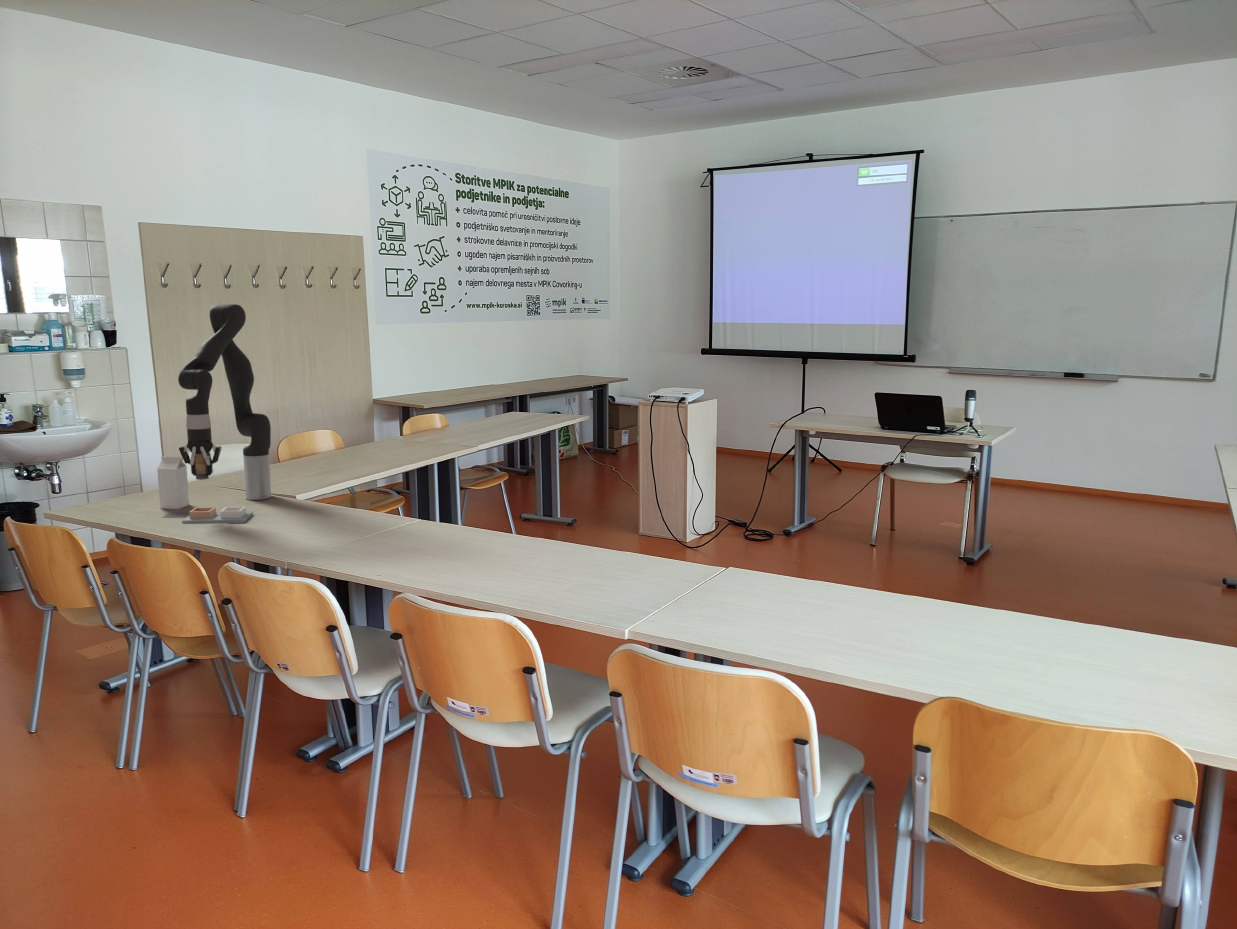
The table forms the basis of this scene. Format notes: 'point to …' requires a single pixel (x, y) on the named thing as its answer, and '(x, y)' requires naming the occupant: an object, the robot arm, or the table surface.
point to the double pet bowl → (218, 515)
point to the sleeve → (200, 467)
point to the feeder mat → (177, 514)
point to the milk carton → (172, 483)
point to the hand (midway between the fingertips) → (202, 474)
